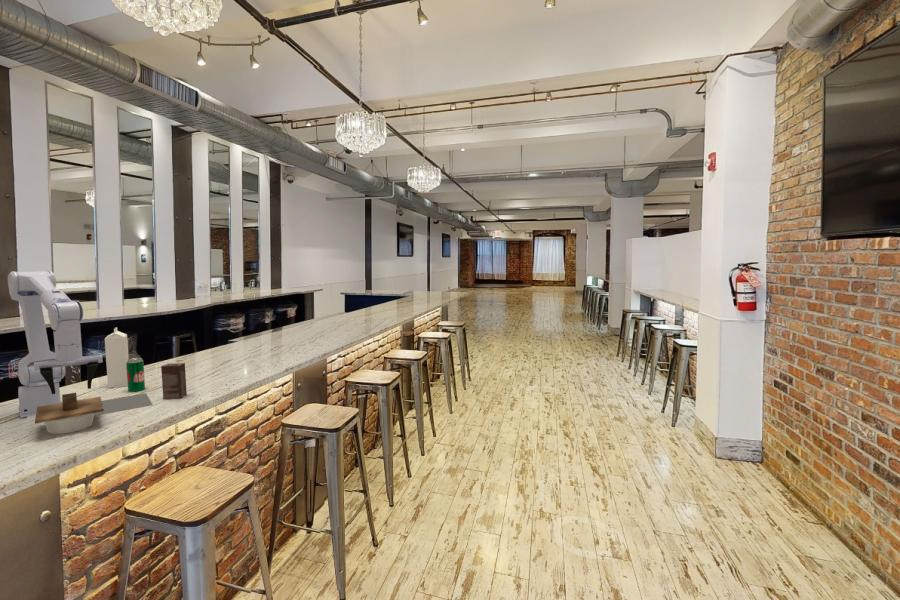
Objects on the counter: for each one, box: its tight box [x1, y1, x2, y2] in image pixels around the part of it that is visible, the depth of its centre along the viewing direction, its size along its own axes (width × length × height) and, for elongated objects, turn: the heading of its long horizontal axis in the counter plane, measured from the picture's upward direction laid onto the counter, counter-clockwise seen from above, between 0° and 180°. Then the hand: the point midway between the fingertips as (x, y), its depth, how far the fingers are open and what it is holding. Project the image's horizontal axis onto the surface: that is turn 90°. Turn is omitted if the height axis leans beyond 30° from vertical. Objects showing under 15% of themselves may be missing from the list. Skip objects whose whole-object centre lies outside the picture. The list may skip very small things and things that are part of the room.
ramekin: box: [44, 413, 95, 435], centre depth 122 cm, size 11×11×5 cm
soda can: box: [126, 357, 146, 393], centre depth 155 cm, size 5×5×12 cm
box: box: [160, 362, 188, 400], centre depth 148 cm, size 6×4×12 cm
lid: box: [34, 392, 104, 424], centre depth 122 cm, size 14×14×4 cm
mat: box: [94, 393, 154, 417], centre depth 141 cm, size 16×16×1 cm
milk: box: [104, 327, 130, 389], centre depth 162 cm, size 6×6×22 cm
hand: (71, 390), depth 123 cm, fingers open, 7 cm apart
